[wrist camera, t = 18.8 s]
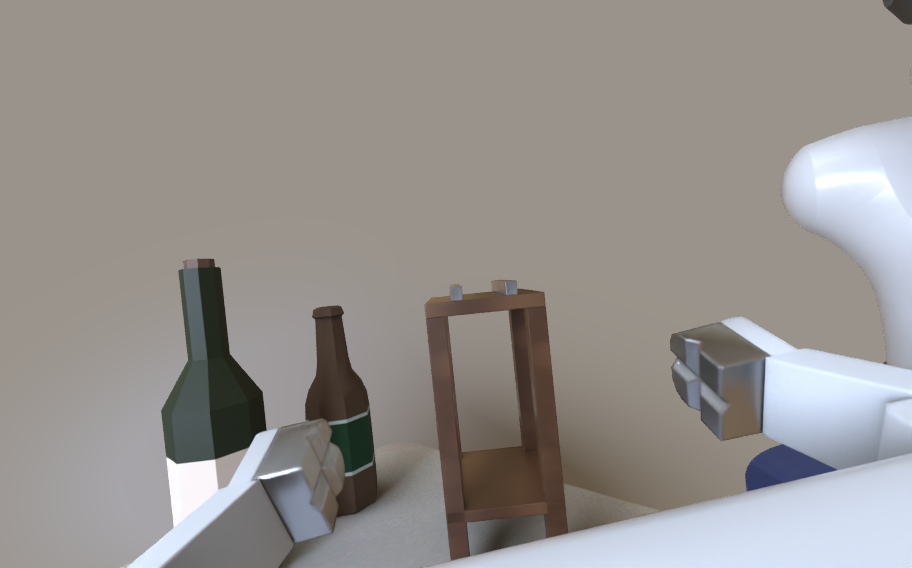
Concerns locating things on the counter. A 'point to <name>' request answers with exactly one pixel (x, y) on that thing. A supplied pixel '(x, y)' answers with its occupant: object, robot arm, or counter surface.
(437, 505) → the counter surface
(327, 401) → the beer bottle
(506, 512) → the bottle rack
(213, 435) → the wine bottle
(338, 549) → the counter surface
